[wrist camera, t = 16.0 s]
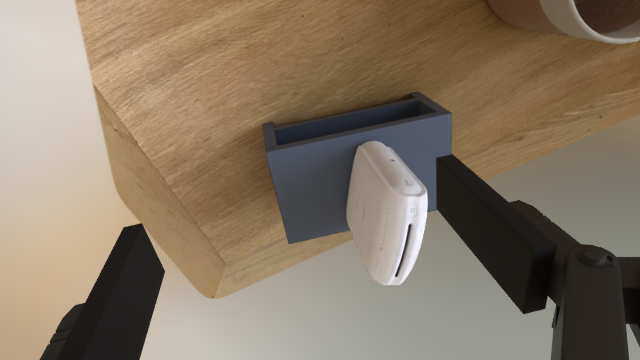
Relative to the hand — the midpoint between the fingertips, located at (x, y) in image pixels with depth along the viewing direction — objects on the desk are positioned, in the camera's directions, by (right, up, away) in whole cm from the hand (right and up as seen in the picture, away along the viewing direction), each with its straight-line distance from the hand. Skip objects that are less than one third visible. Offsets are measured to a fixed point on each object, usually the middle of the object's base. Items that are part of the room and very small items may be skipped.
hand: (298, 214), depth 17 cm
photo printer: (+6, +1, +25) cm, 26 cm away
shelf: (+5, +5, +33) cm, 34 cm away
